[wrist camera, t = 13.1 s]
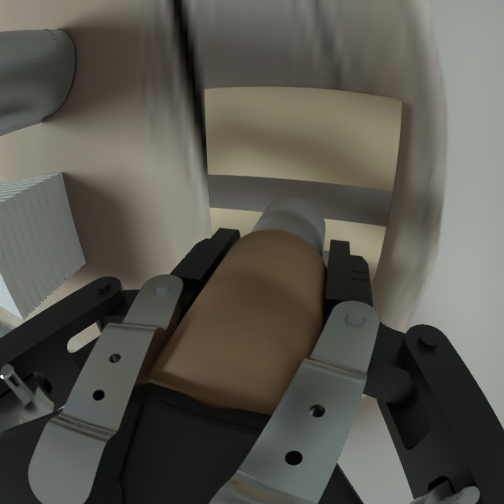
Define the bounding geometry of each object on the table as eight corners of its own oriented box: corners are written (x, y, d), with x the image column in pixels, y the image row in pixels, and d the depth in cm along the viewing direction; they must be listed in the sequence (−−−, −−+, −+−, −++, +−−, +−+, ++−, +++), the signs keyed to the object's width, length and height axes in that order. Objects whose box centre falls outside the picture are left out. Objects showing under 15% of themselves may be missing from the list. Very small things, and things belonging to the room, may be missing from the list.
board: (344, 367, 26) (343, 376, 25) (227, 348, 29) (224, 356, 28) (398, 99, 14) (402, 99, 13) (211, 89, 17) (203, 89, 16)
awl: (281, 272, 15) (214, 454, 7) (239, 214, 14) (116, 378, 6) (346, 242, 13) (333, 451, 5) (304, 175, 12) (228, 354, 4)
